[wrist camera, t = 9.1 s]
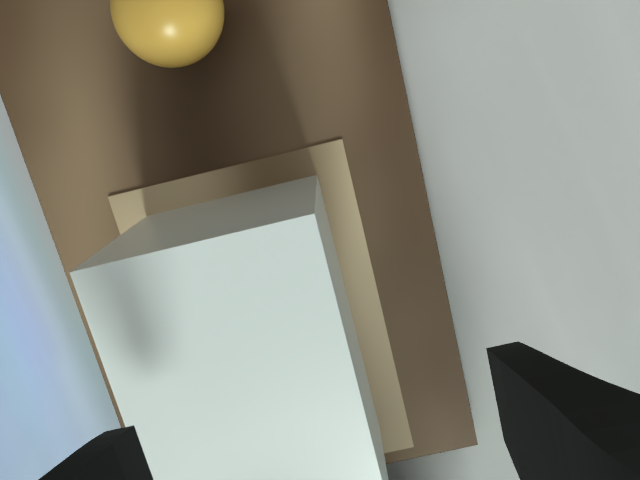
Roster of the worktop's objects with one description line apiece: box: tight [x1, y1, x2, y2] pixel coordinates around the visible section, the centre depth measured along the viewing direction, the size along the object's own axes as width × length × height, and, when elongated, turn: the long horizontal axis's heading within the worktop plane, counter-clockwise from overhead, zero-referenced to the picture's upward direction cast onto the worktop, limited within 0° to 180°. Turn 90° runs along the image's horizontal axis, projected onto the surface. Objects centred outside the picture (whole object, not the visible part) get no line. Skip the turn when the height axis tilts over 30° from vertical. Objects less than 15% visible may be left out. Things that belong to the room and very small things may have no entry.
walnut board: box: [0, 0, 478, 464], centre depth 19 cm, size 12×24×1 cm, turn 14°
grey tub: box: [69, 175, 388, 480], centre depth 17 cm, size 6×9×6 cm, turn 14°
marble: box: [110, 0, 225, 68], centre depth 16 cm, size 3×3×3 cm
